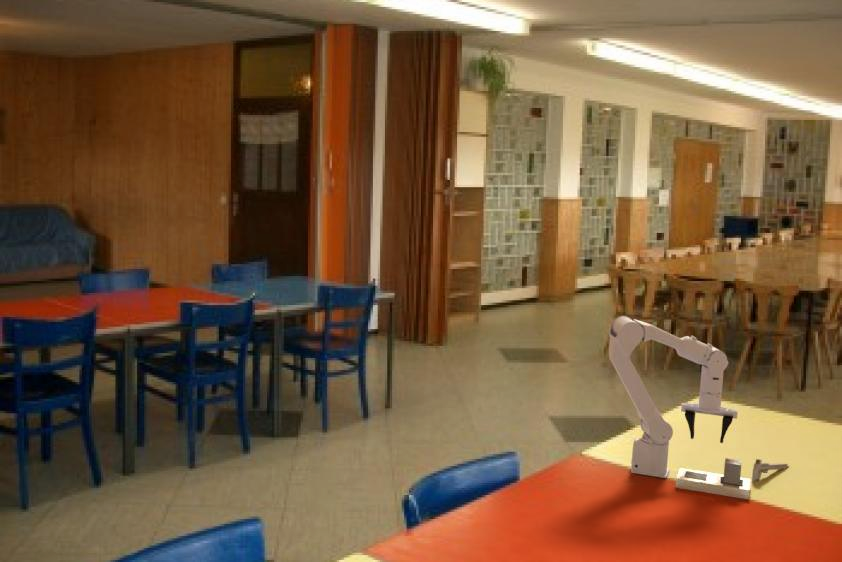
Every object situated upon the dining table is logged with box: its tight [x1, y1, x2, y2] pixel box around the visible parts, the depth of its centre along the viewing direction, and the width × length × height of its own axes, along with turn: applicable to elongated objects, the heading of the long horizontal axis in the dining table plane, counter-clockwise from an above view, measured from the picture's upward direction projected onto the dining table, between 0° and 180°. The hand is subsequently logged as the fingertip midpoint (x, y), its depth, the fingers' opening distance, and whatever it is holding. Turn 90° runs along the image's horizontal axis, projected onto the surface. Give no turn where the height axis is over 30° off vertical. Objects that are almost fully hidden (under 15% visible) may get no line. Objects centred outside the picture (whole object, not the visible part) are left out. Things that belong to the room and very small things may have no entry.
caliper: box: [751, 458, 790, 483], centre depth 244 cm, size 20×1×6 cm, turn 133°
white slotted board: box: [675, 467, 752, 500], centre depth 231 cm, size 18×9×2 cm, turn 68°
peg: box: [723, 458, 743, 486], centre depth 229 cm, size 4×4×8 cm
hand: (706, 440), depth 241 cm, fingers open, 7 cm apart
